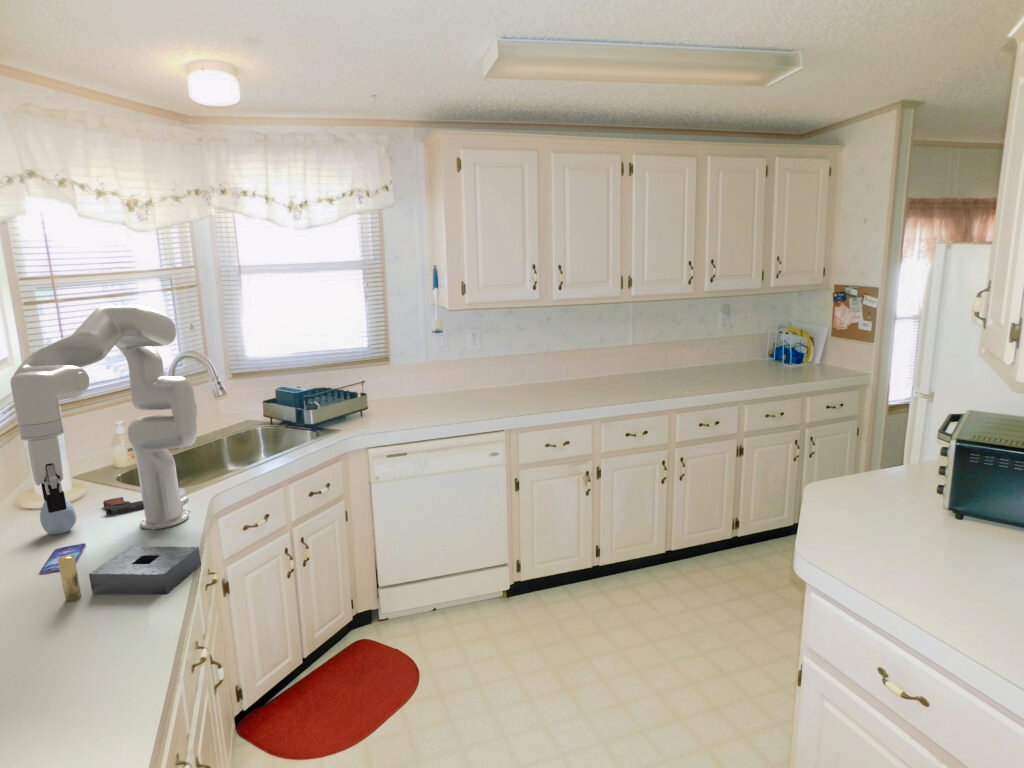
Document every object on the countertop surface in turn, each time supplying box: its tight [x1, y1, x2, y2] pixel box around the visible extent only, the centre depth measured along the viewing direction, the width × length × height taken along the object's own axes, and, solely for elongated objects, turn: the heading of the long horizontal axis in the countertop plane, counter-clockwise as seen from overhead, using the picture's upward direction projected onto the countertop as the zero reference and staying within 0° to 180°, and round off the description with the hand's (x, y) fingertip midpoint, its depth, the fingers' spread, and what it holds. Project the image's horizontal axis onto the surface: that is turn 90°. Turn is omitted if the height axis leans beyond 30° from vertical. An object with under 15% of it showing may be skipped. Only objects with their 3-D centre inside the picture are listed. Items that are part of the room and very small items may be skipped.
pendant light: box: [39, 497, 77, 535], centre depth 179 cm, size 8×8×30 cm
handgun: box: [102, 496, 144, 516], centre depth 201 cm, size 16×3×12 cm
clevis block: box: [88, 545, 202, 596], centre depth 152 cm, size 14×18×5 cm
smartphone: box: [39, 542, 87, 575], centre depth 165 cm, size 7×1×15 cm
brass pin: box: [58, 555, 82, 603], centre depth 144 cm, size 3×3×10 cm
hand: (55, 504), depth 141 cm, fingers open, 9 cm apart
